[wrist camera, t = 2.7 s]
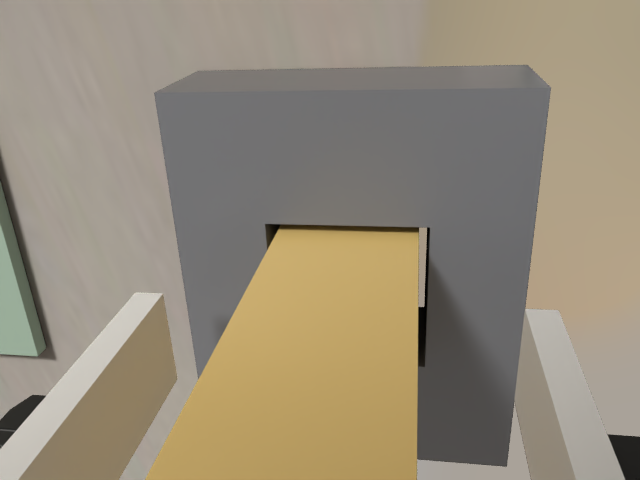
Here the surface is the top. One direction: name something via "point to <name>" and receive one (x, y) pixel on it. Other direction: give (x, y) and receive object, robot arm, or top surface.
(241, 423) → the plug
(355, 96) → the grey block with hole
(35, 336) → the mat
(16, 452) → the robot arm
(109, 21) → the top surface
